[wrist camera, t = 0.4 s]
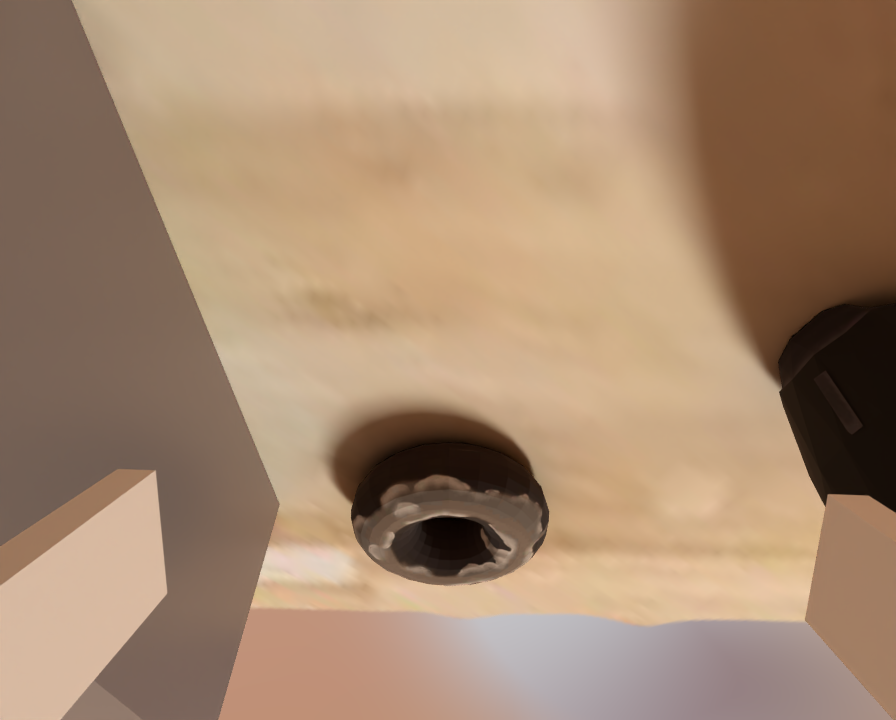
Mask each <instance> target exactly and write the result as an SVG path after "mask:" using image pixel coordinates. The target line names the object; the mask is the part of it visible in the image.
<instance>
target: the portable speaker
mask: <svg viewBox="0 0 896 720" xmlns="http://www.w3.org/2000/svg"><path fill="white" fill-rule="evenodd" d="M778 364H779V370H780V376H781V382H782V390H781V391H780V392H779V393H780V397H781V400H782V404H783V407H784V410H785V413H786V415H787V418H788V421H789V423H790V426H791V429H792V431H793V434H794V436H795V439H796V442H797V444H798V447H799V450H800V452H801V455H802V458H803V460H804V463H805V466H806V468H807V471H808V474H809V476H810V478H811V480H812V482H813V484H814V486H815V488H816V490H817V492H818V494H819V496H820V498H821V500H822V502H823V503H824V505H825V507H826V502H827V496H828V494H837V495H865V496H870V497H871V498H873V499H875V500H876V501H878V502H879V503H881V504H882V505H884V506H886V507H887V508H889V509H890V510H892V511H893V512H895V513H896V303H893V304H890V305H884V306H877V307H870V308H864V307H858V306H852V305H846V304H844V305H841V306H838V307H835V308H832V309H828V310H825V311H822V312H821V313H819V314H818V315H817V316H816V317H815V318H814V319H813V320H812V321H810V322H809V323H808V324H807V325H806V326H805V327H804V328H803V329H801V330H800V331H799V332H798V333H797V334H796V335H795V336H794V337H792V338H791V339H790V340H789V342H788V344H787V346H786V348H785V350H784V352H783V354H782V356H781V358H780V360H779V362H778Z"/></svg>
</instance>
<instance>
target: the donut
mask: <svg viewBox="0 0 896 720" xmlns="http://www.w3.org/2000/svg"><path fill="white" fill-rule="evenodd" d="M441 517H456V518H465V519H458V520H445V519H437V518H441ZM351 520H352V524H353V529H354V533H355V536H356V539H357V541H358V543H359V544H360V546H361V547H362V548H363V550H364V551H365V552H366V553H367V555H368V556H369V557H370V558H371V559H372V560H373V561H374V562H376V563H377V564H378V565H380V566H381V567H383V568H384V569H386V570H387V571H389V572H392V573H394V574H396V575H399V576H401V577H404V578H406V579H409V580H413V581H418V582H422V583H426V584H434V585H446V586H456V585H471V584H476V583H481V582H486V581H491V580H494V579H497V578H499V577H502V576H504V575H507V574H509V573H512V572H514V571H515V570H517V569H518V568H519V567H521V566H522V565H524V564H525V563H527V562H528V561H529V560H530V559H531V558H532V557H533V556H534V554H535V553H536V552H537V550H538V549H539V548H540V546H541V545H542V544H543V541H544V539H545V536H546V532H547V527H548V522H549V510H548V507H547V503H546V500H545V497H544V494H543V491H542V488H541V486H540V485H539V484H538V482H537V481H536V480H535V479H534V478H533V477H532V475H531V474H530V473H529V472H528V471H527V470H526V469H525V468H524V467H523V466H522V465H520V464H519V463H517V462H515V461H514V460H512V459H510V458H508V457H507V456H505V455H503V454H501V453H499V452H496V451H493V450H490V449H486V448H483V447H480V446H477V445H469V444H459V443H439V444H427V445H422V446H418V447H415V448H411V449H408V450H405V451H401V452H399V453H397V454H395V455H393V456H391V457H390V458H388V459H386V460H385V461H383V462H381V463H379V464H378V465H376V466H375V468H374V469H373V470H372V471H371V472H370V473H369V474H368V475H367V477H366V478H365V479H364V480H363V481H362V482H361V484H360V485H359V487H358V489H357V492H356V495H355V499H354V502H353V506H352V509H351Z"/></svg>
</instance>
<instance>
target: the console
mask: <svg viewBox="0 0 896 720" xmlns="http://www.w3.org/2000/svg"><path fill="white" fill-rule="evenodd" d="M117 469H134V470H156V480H157V490H158V501H159V511H160V522H161V532H162V542H163V553H164V563H165V574H166V584H167V594H166V596H165V597H164V598H163V599H162V600H161V601H160V603H159V604H158V605H157V606H156V607H155V609H154V610H153V611H152V612H151V613H150V614H149V616H148V617H147V618H146V619H145V620H144V622H143V623H142V624H141V625H140V626H139V627H138V629H137V630H136V631H135V632H134V633H133V635H132V636H131V637H130V638H129V639H128V640H127V642H126V643H125V644H124V645H123V646H122V648H121V649H120V650H119V651H118V652H117V653H116V655H115V656H114V657H113V658H112V659H111V661H110V662H109V663H108V664H107V665H106V666H105V668H104V669H103V670H102V671H101V672H100V674H99V675H98V676H97V677H96V678H95V680H94V681H93V682H92V683H91V684H90V685H89V687H88V688H87V689H86V690H85V691H84V693H83V694H82V695H81V696H80V697H79V698H78V700H77V701H76V702H75V703H74V704H73V706H72V707H71V708H70V709H69V710H68V711H67V713H66V714H65V715H64V716H63V717H62V719H61V720H218V718H219V715H220V711H221V708H222V704H223V701H224V697H225V694H226V690H227V687H228V683H229V680H230V676H231V673H232V669H233V666H234V662H235V659H236V655H237V652H238V648H239V645H240V641H241V638H242V634H243V631H244V627H245V624H246V620H247V617H248V613H249V610H250V606H251V603H252V599H253V596H254V592H255V589H256V585H257V582H258V578H259V575H260V571H261V568H262V564H263V561H264V557H265V554H266V550H267V547H268V543H269V540H270V536H271V533H272V529H273V526H274V522H275V519H276V515H277V512H278V508H279V505H280V504H279V502H278V500H277V497H276V495H275V492H274V490H273V488H272V485H271V483H270V480H269V478H268V475H267V473H266V471H265V468H264V466H263V463H262V461H261V458H260V456H259V454H258V451H257V449H256V446H255V444H254V442H253V439H252V437H251V434H250V432H249V429H248V427H247V425H246V422H245V420H244V417H243V415H242V412H241V410H240V408H239V405H238V403H237V400H236V398H235V396H234V393H233V391H232V388H231V386H230V383H229V381H228V379H227V376H226V374H225V371H224V369H223V366H222V364H221V362H220V359H219V357H218V354H217V352H216V349H215V347H214V345H213V342H212V340H211V337H210V335H209V333H208V330H207V328H206V325H205V323H204V320H203V318H202V316H201V313H200V311H199V308H198V306H197V303H196V301H195V299H194V296H193V294H192V291H191V289H190V287H189V284H188V282H187V279H186V277H185V274H184V272H183V270H182V267H181V265H180V262H179V260H178V257H177V255H176V253H175V250H174V248H173V245H172V243H171V241H170V238H169V236H168V233H167V231H166V228H165V226H164V224H163V221H162V219H161V216H160V214H159V211H158V209H157V207H156V204H155V202H154V199H153V197H152V195H151V192H150V190H149V187H148V185H147V182H146V180H145V178H144V175H143V173H142V170H141V168H140V165H139V163H138V161H137V158H136V156H135V153H134V151H133V149H132V146H131V144H130V141H129V139H128V136H127V134H126V132H125V129H124V127H123V124H122V122H121V119H120V117H119V115H118V112H117V110H116V107H115V105H114V102H113V100H112V98H111V95H110V93H109V90H108V88H107V86H106V83H105V81H104V78H103V76H102V73H101V71H100V69H99V66H98V64H97V61H96V59H95V56H94V54H93V52H92V49H91V47H90V44H89V42H88V40H87V37H86V35H85V32H84V30H83V27H82V25H81V23H80V20H79V18H78V15H77V13H76V10H75V8H74V6H73V3H72V1H71V0H0V546H2V545H3V544H5V543H6V542H8V541H9V540H11V539H12V538H14V537H15V536H17V535H18V534H20V533H21V532H23V531H24V530H26V529H27V528H29V527H30V526H32V525H33V524H35V523H36V522H38V521H39V520H41V519H43V518H44V517H46V516H47V515H49V514H50V513H52V512H53V511H55V510H56V509H58V508H59V507H61V506H62V505H64V504H65V503H67V502H68V501H70V500H71V499H73V498H74V497H76V496H77V495H79V494H80V493H82V492H83V491H85V490H87V489H88V488H90V487H91V486H93V485H94V484H96V483H97V482H99V481H100V480H102V479H103V478H105V477H106V476H108V475H109V474H111V473H112V472H114V471H115V470H117Z"/></svg>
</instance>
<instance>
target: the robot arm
mask: <svg viewBox="0 0 896 720" xmlns="http://www.w3.org/2000/svg"><path fill="white" fill-rule="evenodd" d="M166 594H167V584H166V574H165V563H164V553H163V542H162V532H161V522H160V511H159V501H158V490H157V480H156V470H134V469H117V470H115V471H114V472H112V473H111V474H109V475H108V476H106V477H105V478H103V479H102V480H100V481H99V482H97V483H96V484H94V485H93V486H91V487H90V488H88V489H87V490H85V491H83V492H82V493H80V494H79V495H77V496H76V497H74V498H73V499H71V500H70V501H68V502H67V503H65V504H64V505H62V506H61V507H59V508H58V509H56V510H55V511H53V512H52V513H50V514H49V515H47V516H46V517H44V518H43V519H41V520H39V521H38V522H36V523H35V524H33V525H32V526H30V527H29V528H27V529H26V530H24V531H23V532H21V533H20V534H18V535H17V536H15V537H14V538H12V539H11V540H9V541H8V542H6V543H5V544H3V545H2V546H0V720H61V719H62V717H63V716H64V715H65V714H66V713H67V711H68V710H69V709H70V708H71V707H72V706H73V704H74V703H75V702H76V701H77V700H78V698H79V697H80V696H81V695H82V694H83V693H84V691H85V690H86V689H87V688H88V687H89V685H90V684H91V683H92V682H93V681H94V680H95V678H96V677H97V676H98V675H99V674H100V672H101V671H102V670H103V669H104V668H105V666H106V665H107V664H108V663H109V662H110V661H111V659H112V658H113V657H114V656H115V655H116V653H117V652H118V651H119V650H120V649H121V648H122V646H123V645H124V644H125V643H126V642H127V640H128V639H129V638H130V637H131V636H132V635H133V633H134V632H135V631H136V630H137V629H138V627H139V626H140V625H141V624H142V623H143V622H144V620H145V619H146V618H147V617H148V616H149V614H150V613H151V612H152V611H153V610H154V609H155V607H156V606H157V605H158V604H159V603H160V601H161V600H162V599H163V598H164V597H165V596H166ZM805 621H806V622H807V623H808V624H809V625H810V626H811V627H812V628H813V630H814V631H815V632H816V633H817V634H818V635H819V636H820V637H821V639H823V641H824V642H825V643H826V644H827V645H828V647H829V648H830V649H831V650H832V651H833V652H834V653H835V654H836V655H837V657H838V658H839V659H840V660H841V661H842V662H843V663H844V665H845V666H846V667H847V668H848V669H849V670H850V671H851V672H852V674H853V675H854V676H855V677H856V678H857V679H858V680H859V681H860V683H861V684H862V685H863V686H864V687H865V688H866V689H867V691H868V692H869V693H870V694H871V695H872V696H873V697H874V698H875V699H876V701H877V702H878V703H879V704H880V705H881V706H882V707H883V709H884V710H885V711H886V712H887V713H888V714H889V715H890V716H891V718H892V719H893V720H896V513H895V512H893V511H892V510H890V509H889V508H887V507H886V506H884V505H882V504H881V503H879V502H878V501H876V500H875V499H873V498H871V497H870V496H865V495H837V494H828V496H827V502H826V507H825V513H824V518H823V524H822V529H821V535H820V540H819V546H818V551H817V557H816V562H815V568H814V573H813V579H812V584H811V590H810V595H809V601H808V606H807V612H806V617H805Z"/></svg>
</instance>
